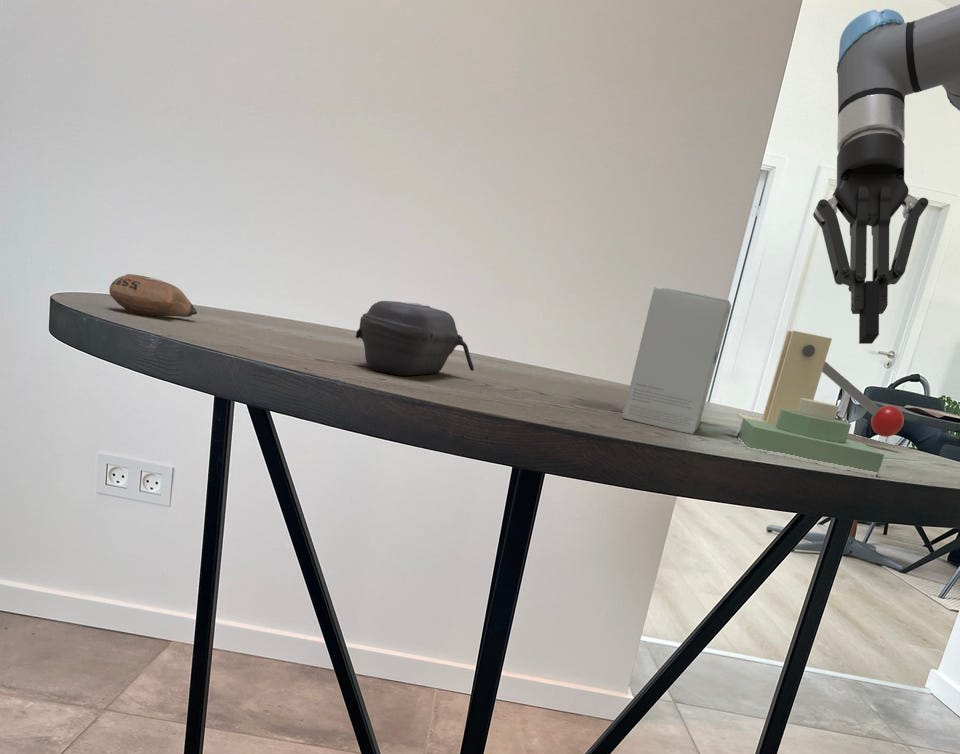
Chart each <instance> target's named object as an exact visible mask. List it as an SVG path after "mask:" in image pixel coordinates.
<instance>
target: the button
mask: <svg viewBox="0 0 960 754" xmlns="http://www.w3.org/2000/svg"><path fill="white" fill-rule="evenodd" d="M839 408H840V406H839V405H837V404H832V403H828V402H824V401H819V400H815V399H814V400H810V399H805V398H801V399H800V403H799V406H798V410H797V413H800V414H804V415H808V416H812V417H817V418H821V419H826V420H832V421H835V419H836V417H837V415H838V411H839Z"/></svg>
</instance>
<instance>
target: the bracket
mask: <svg viewBox="0 0 960 754" xmlns="http://www.w3.org/2000/svg"><path fill="white" fill-rule="evenodd" d="M784 338H785V339H784V341H783V345H782V349H781V352H780V356H779V359H778V362H777V366H776V370H775V372H774V376H773V380H772V383H771V387H770V391H769V394H768V396H767V397H768V398H767V400H766V404H765V408H764V411H763V414H762V415H763V416H762V418H760V417H755V416H750V415H746V414H741V413H738V414H737V417H738V418H739V419H740V420H741V421H742V420H743V418H747V419H752V420H757V421H761V422H766V423H771V424H776V423H777V420H778V416H779V413H780V409H789V410H794V411H797V410H798V406H799V403H800V399H801V398H805V399H810V400H815V396H816V393H817V389H818V387H819V383H820V380H821V377H822V374H823V372H822V370H823V367H824V363H825V362H826V361H827V356H828V354H829V350H830V347H831V343H832V340H833V338H831V337H827V336H823V335H817V334H812V333H808V332H803V331H797V330H787V331H786V334H785V337H784Z"/></svg>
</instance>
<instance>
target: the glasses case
mask: <svg viewBox="0 0 960 754" xmlns="http://www.w3.org/2000/svg"><path fill="white" fill-rule="evenodd" d="M355 338H356V339H361V340H362V342H363V347H364V357H365V362H366V364H367V365H366V366H368V368H369V369H370V370H373V371H376V372H379V373H384V374H389V375H395V376H399V377H402V376H403V377H406V376H420V375H421V376H422V375H432V374H438V373H439V372H440V371H442V369H443V368H444V366H445V364H446V362H447V360H448V358H449V357H450V355H451V354H452V353H453V352H454V351H455V349H456V347H458V346H462V348H463V351H464V355H465V358H466V361H467V364H468V367H469V370H470V371H472V372H474V370H475V369H474V364H473V360H472V357H471V355H470V350H469V346H468V344H467V343H466V342H465V340H464V338H463V336H462V335H460V334H459V333H458V329H457V326H456V321H455V319H454V317H453V316H452V314H451V313H449V312H448V311H445V310H441V309H438V308H435V307H431V306H429V305H427V304H425V303H417V302H409V301H393V300H379V301H377V302H375V303H373V304H372V305H371V306H370V308H369V309H368V311H367V312H366V313H363V314H362V316H361V317H360V319H359V328H358V329H357V330H356V334H355Z"/></svg>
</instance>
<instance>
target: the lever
mask: <svg viewBox="0 0 960 754" xmlns="http://www.w3.org/2000/svg"><path fill="white" fill-rule="evenodd" d="M822 374H824V375H825V376H826V377H827V378H828V379H830V380H831V381H832V382H833V383H834V384H835V385H837V386H838V387H839V388H840V389H841V390H843V391H844V392H845V394H847V395H849V397H851V398H852V399H853V400H855V402H856V403H858V404H859V405H860V406H861V407H863V409H865V410H866V411H867V412H868V413H869V414H871V415H872V416H871V419H870V425H871V429H872V431H873V432H874V433H875V434H877V435H878V436H880V437H884V438H885V437H886V438H887V437H888V438H889V437H892V436H894V435H897V434H898V433H900V431H901V430H902V428H903V427H904V422H905V417H904V414H903V412H902V410H901V409H900V408H898V407H897V406H895V405H883V406H880V407H879V406H878V405H877V404H876V403H874V402H873V401H872V400H871V399H870V398H869V397H868V396H867V395H865V393H863V392H862V391H861V390H859V389H858V388H857V387H856V386H855V385H853V383H852V382H850V381H849V380H848V379H847V378H846V377H844V376H843V375H842V374H841V373H840V372H838V371H837V370H836V369H835V368H834V367H833V366H832V365H830V364H829V363H828V362H827V361H825V363H824V367H823V370H822Z"/></svg>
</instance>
